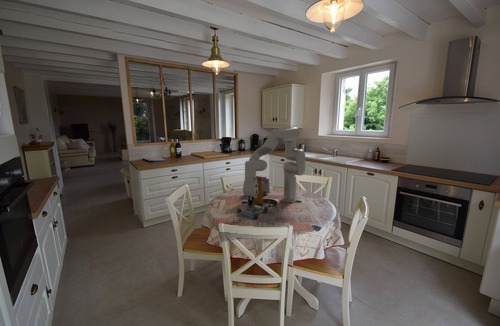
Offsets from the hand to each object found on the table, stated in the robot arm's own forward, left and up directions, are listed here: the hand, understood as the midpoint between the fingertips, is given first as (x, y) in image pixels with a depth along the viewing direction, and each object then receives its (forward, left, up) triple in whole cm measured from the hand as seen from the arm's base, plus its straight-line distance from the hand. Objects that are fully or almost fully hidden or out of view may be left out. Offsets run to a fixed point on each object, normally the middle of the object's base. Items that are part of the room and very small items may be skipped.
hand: (250, 204), depth 152 cm
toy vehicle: (-37, -18, -7) cm, 42 cm away
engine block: (0, 0, -6) cm, 6 cm away
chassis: (-3, 0, -7) cm, 8 cm away
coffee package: (-20, -9, -7) cm, 23 cm away
